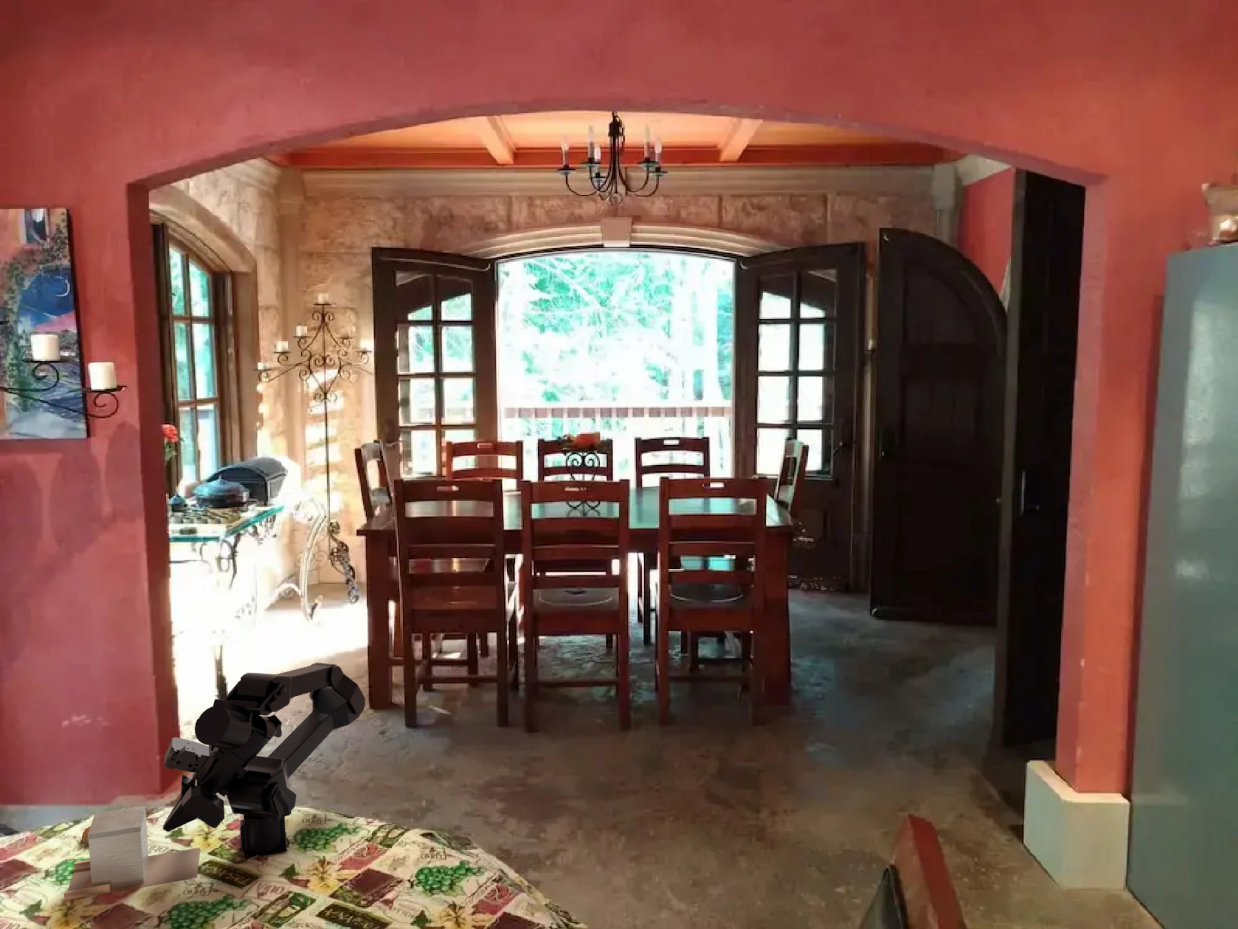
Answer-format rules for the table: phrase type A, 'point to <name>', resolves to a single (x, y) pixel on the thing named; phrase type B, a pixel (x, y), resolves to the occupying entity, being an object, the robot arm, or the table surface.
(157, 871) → the board
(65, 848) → the table surface
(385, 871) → the table surface
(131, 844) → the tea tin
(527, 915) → the table surface
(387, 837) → the table surface
